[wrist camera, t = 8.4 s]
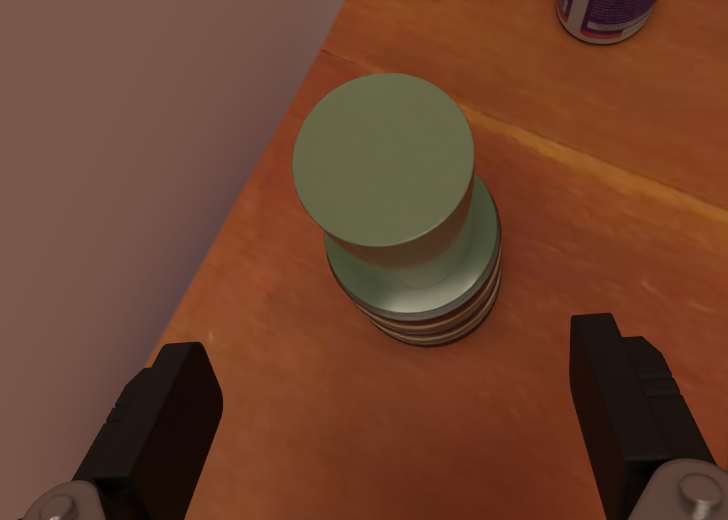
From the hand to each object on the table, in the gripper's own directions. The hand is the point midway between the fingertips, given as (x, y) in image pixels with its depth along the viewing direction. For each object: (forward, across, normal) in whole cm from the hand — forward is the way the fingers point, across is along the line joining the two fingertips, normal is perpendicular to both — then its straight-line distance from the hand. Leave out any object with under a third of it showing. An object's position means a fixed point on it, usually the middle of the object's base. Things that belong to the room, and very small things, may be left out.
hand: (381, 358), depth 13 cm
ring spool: (+11, 0, +4) cm, 12 cm away
